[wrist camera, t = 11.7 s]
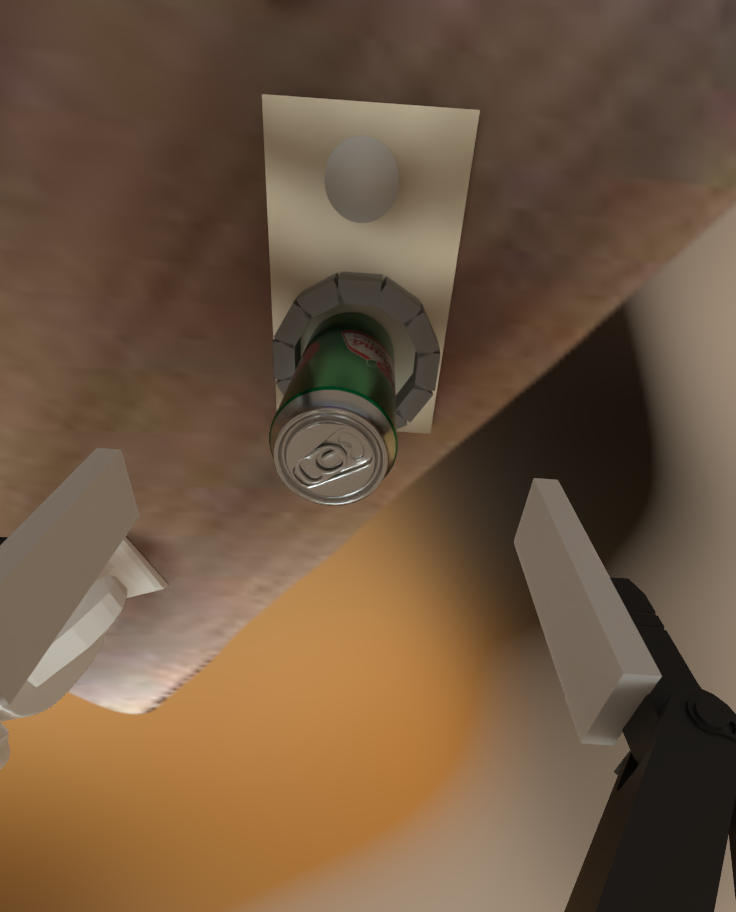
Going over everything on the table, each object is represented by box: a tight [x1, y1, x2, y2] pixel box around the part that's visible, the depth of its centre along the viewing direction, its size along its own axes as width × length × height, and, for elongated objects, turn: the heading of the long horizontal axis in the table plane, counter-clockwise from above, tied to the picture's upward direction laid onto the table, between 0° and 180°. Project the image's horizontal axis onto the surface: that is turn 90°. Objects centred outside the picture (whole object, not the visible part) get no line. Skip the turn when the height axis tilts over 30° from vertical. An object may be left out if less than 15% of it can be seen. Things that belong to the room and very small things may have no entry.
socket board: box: [262, 94, 480, 434], centre depth 24 cm, size 17×10×6 cm, turn 176°
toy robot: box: [0, 536, 168, 770], centre depth 31 cm, size 14×9×20 cm, turn 109°
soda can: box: [269, 313, 398, 506], centre depth 22 cm, size 5×5×12 cm
